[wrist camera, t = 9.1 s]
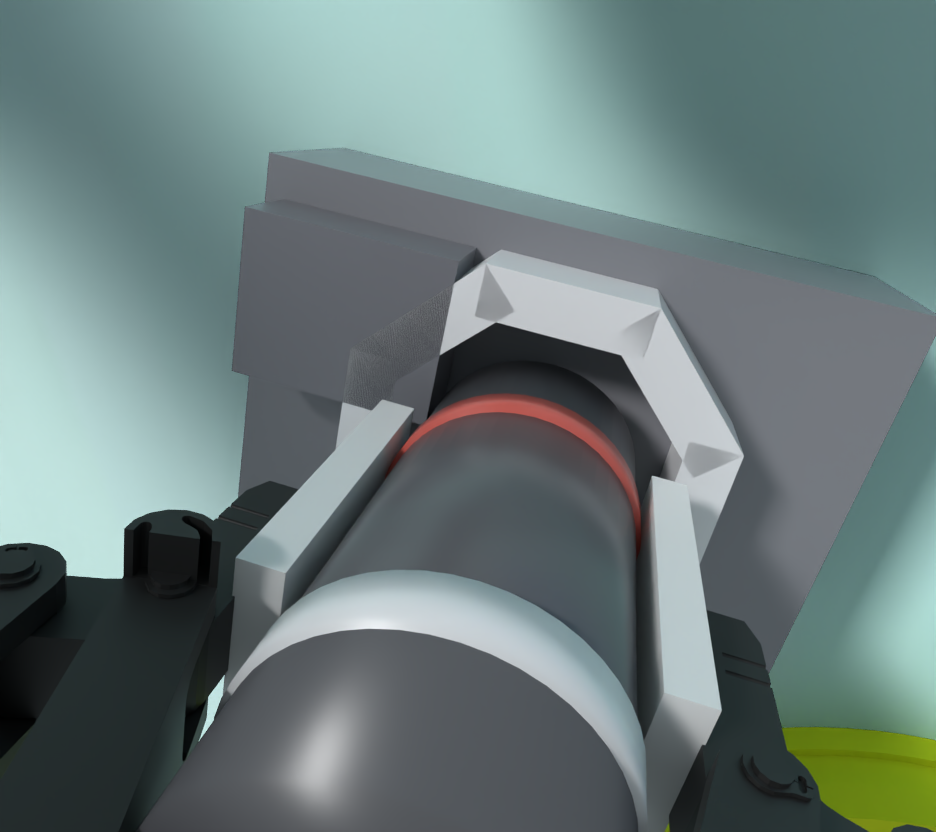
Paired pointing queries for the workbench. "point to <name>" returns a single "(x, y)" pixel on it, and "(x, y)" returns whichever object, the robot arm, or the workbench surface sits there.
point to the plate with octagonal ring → (577, 349)
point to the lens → (452, 641)
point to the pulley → (870, 774)
